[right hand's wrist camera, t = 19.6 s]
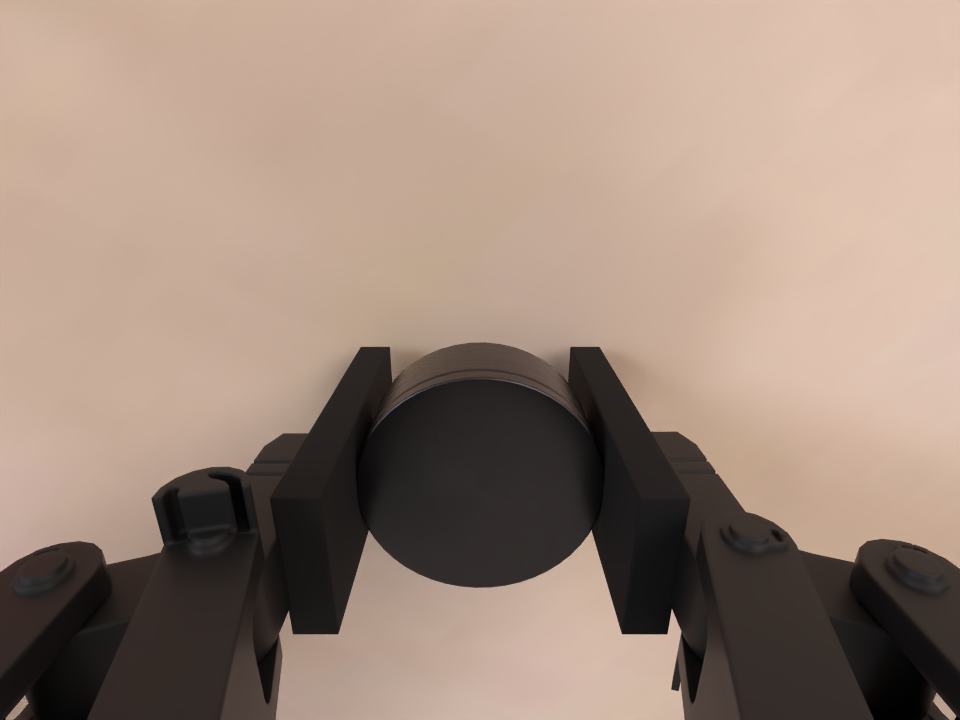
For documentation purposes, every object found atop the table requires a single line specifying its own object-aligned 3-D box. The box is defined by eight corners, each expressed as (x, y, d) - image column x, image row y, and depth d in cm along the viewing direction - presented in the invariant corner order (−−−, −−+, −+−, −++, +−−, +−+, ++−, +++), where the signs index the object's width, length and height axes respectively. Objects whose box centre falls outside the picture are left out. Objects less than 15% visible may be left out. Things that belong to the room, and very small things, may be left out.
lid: (550, 309, 11) (563, 341, 9) (610, 494, 12) (632, 551, 11) (337, 383, 11) (311, 426, 10) (422, 550, 13) (413, 613, 11)
